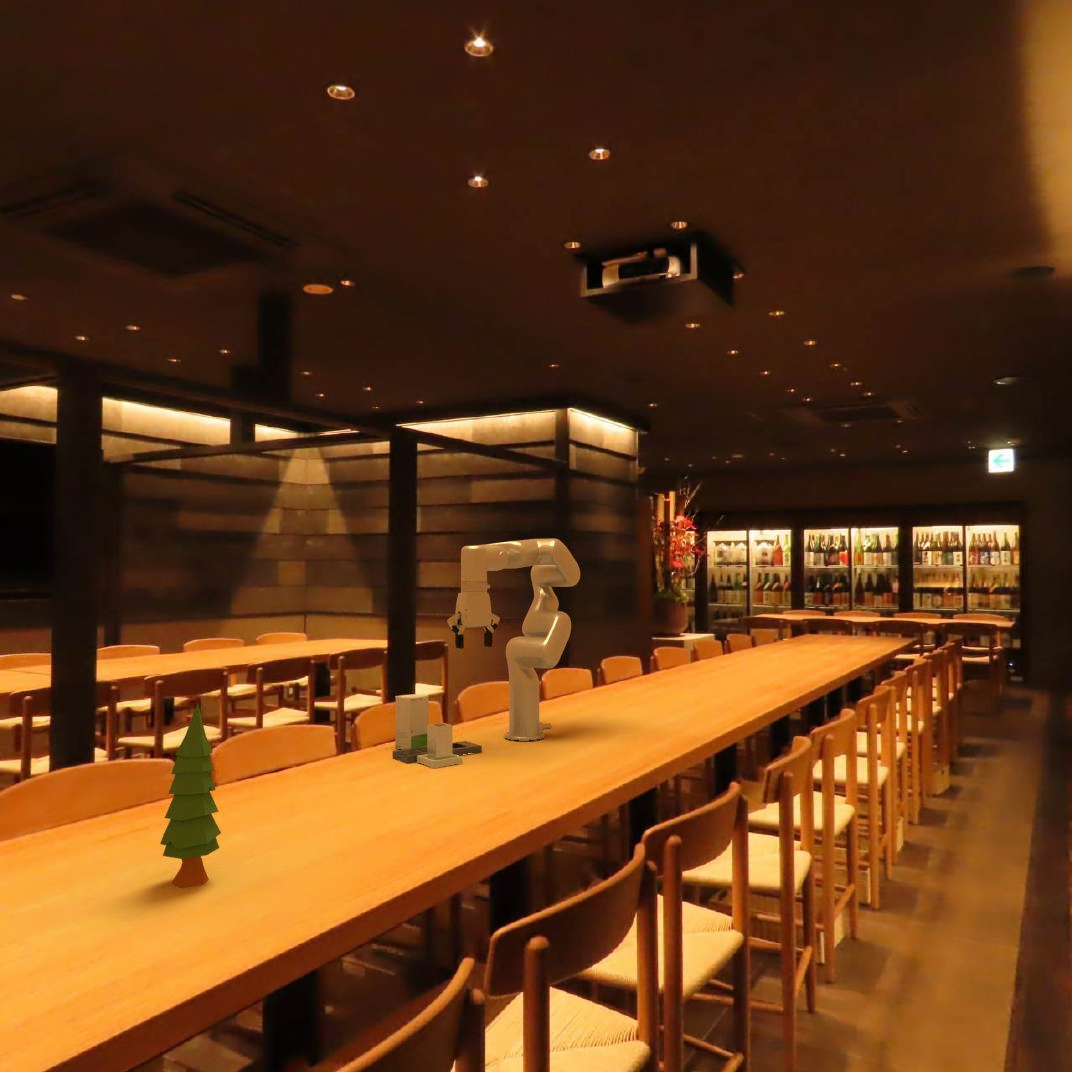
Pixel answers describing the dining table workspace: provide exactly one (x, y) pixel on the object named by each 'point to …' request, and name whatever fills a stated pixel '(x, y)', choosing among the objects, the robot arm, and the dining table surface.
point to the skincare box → (411, 721)
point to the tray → (439, 761)
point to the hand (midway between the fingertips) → (474, 647)
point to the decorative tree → (192, 807)
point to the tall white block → (439, 741)
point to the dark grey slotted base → (412, 753)
